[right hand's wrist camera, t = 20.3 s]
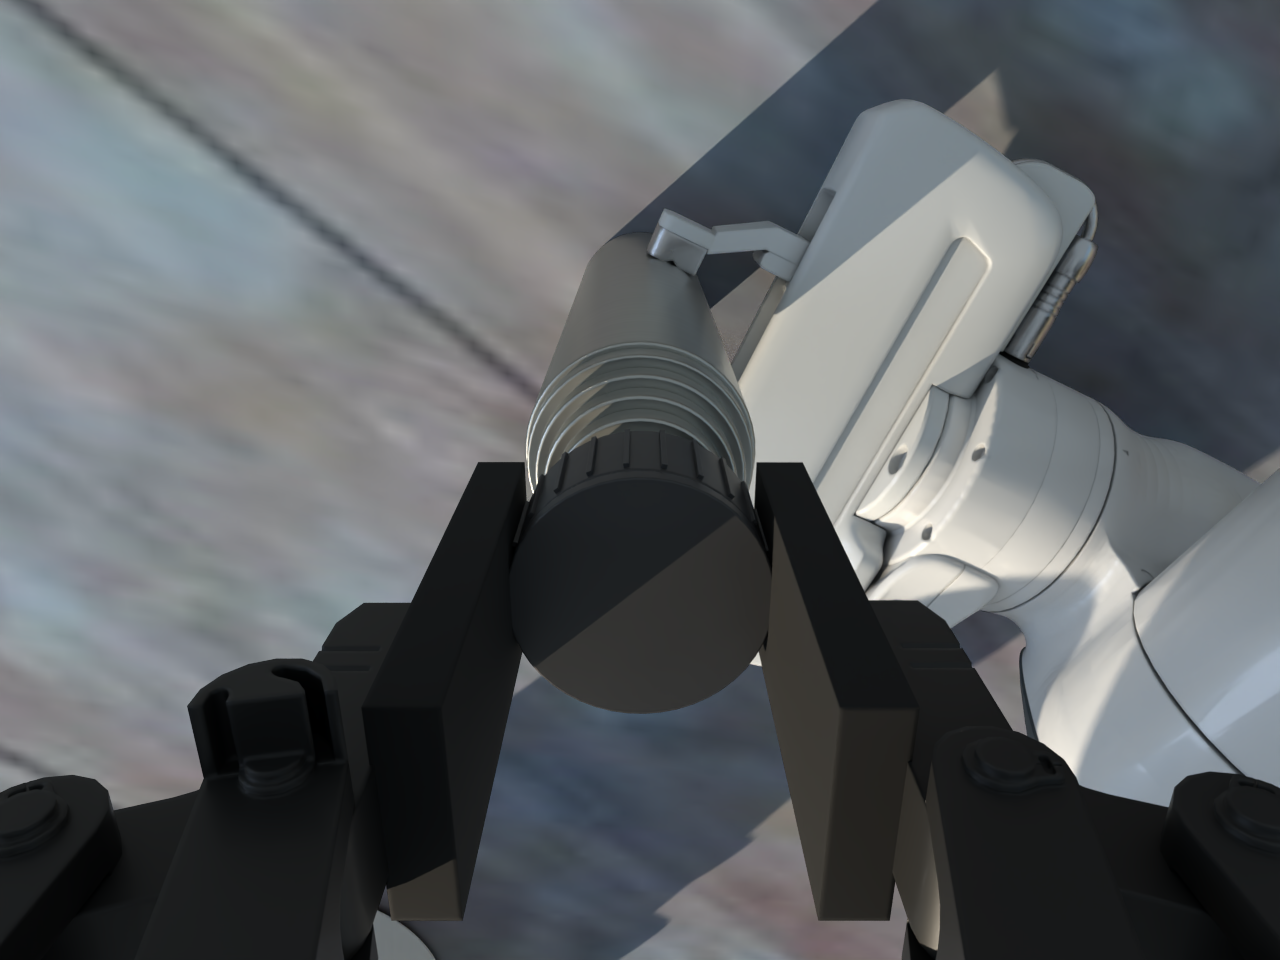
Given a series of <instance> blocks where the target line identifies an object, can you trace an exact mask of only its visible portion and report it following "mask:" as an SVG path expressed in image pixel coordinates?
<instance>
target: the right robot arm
mask: <svg viewBox="0 0 1280 960" xmlns="http://www.w3.org/2000/svg"><path fill="white" fill-rule="evenodd" d="M526 501H527V500H526V481H525V462H478V464H477V466H476V468H475V470H474V472H473V474H472V476H471V479H470V481H469V483H468V485H467V487H466V489H465V491H464V493H463V495H462V497H461V500H460V502H459V504H458V506H457V508H456V510H455V512H454V514H453V516H452V518H451V520H450V523H449V525H448V527H447V529H446V531H445V533H444V535H443V537H442V539H441V541H440V543H439V546H438V548H437V550H436V552H435V554H434V556H433V558H432V560H431V562H430V564H429V567H428V569H427V571H426V573H425V575H424V577H423V579H422V581H421V583H420V585H419V587H418V590H417V592H416V594H415V596H414V598H413V600H412V602H411V603H363V604H362V605H360V606H359V607H358V608H356V609H355V610H353V611H352V612H351V613H349V614H348V615H347V616H345V617H344V618H343V619H341V620H340V621H338V622H337V623H336V624H335V626H334V628H333V629H332V631H331V632H330V634H329V636H328V637H327V639H326V641H325V642H324V644H323V646H322V651H319V652H318V654H317V655H316V657H315V659H314V660H313V662H312V661H309V660H305V659H272V660H267V661H262V662H257V663H252V664H248V665H245V666H243V667H240V668H238V669H235V670H233V671H230V672H228V673H225V674H223V675H221V676H220V677H218V678H217V679H215V680H214V681H212V682H211V683H209V684H208V685H206V686H205V687H203V688H202V689H200V690H199V692H198V693H197V694H196V696H195V697H194V698H193V699H192V701H191V702H190V703H189V704H188V706H187V707H188V712H189V716H190V720H191V725H192V729H193V733H194V738H195V742H196V746H197V751H198V755H199V760H200V764H201V768H202V773H203V777H204V779H203V782H202V784H201V787H200V789H199V790H197V791H194V792H191V793H187V794H184V795H180V796H177V797H173V798H169V799H164V800H160V801H155V802H151V803H146V804H141V805H137V806H132V807H128V808H123V809H119V810H114V811H113V807H112V803H111V800H110V796H109V793H108V790H107V789H105V788H104V787H103V786H102V785H101V784H100V783H99V782H98V781H96V780H95V779H91V778H86V777H81V776H76V775H66V776H56V777H45V778H41V779H37V780H34V781H29V782H27V783H23V784H20V785H17V786H14V787H11V788H9V789H7V790H5V791H3V792H1V793H0V960H378V952H377V945H376V939H375V932H374V926H373V922H374V919H375V916H376V913H377V910H378V907H379V904H380V901H381V898H382V895H383V892H384V889H385V886H387V893H388V900H389V908H390V915H391V921H463V916H464V912H465V907H466V903H467V898H468V894H469V889H470V885H471V880H472V876H473V871H474V867H475V862H476V858H477V853H478V849H479V844H480V840H481V835H482V831H483V826H484V822H485V817H486V813H487V808H488V804H489V799H490V795H491V790H492V786H493V781H494V777H495V772H496V768H497V763H498V759H499V754H500V750H501V745H502V741H503V736H504V732H505V727H506V723H507V718H508V714H509V709H510V705H511V700H512V696H513V691H514V687H515V682H516V678H517V673H518V669H519V664H520V660H521V655H522V650H521V649H520V647H519V645H518V643H517V641H516V639H515V637H514V634H513V629H512V614H511V598H510V582H509V569H510V565H511V561H512V558H513V554H514V551H515V548H516V547H513V546H512V544H513V540H514V537H515V534H516V530H517V527H518V524H519V521H520V517H521V514H522V511H523V508H524V504H525V502H526ZM754 509H757V513H758V516H759V519H760V523H761V526H762V530H763V533H764V536H765V540H766V543H767V546H768V550H769V552H768V558H769V561H770V564H771V568H772V583H771V599H770V615H769V629H768V634H767V636H766V639H765V641H764V643H763V645H762V647H761V648H760V650H759V656H760V660H761V665H762V669H763V674H764V678H765V683H766V687H767V692H768V696H769V701H770V705H771V710H772V714H773V719H774V723H775V727H776V732H777V736H778V741H779V745H780V750H781V754H782V759H783V763H784V768H785V772H786V777H787V781H788V786H789V790H790V795H791V799H792V804H793V808H794V813H795V817H796V822H797V826H798V831H799V835H800V840H801V844H802V849H803V853H804V858H805V862H806V867H807V871H808V876H809V880H810V885H811V889H812V894H813V898H814V903H815V907H816V912H817V916H818V921H890V915H891V907H892V900H893V893H894V886H895V882H896V885H897V888H898V891H899V894H900V896H901V899H902V902H903V905H904V908H905V911H906V914H907V917H908V919H907V926H906V932H905V939H904V945H903V952H902V958H901V960H1280V788H1279V787H1277V786H1275V785H1273V784H1271V783H1267V782H1264V781H1262V780H1259V779H1254V778H1252V777H1247V776H1244V775H1240V774H1233V773H1222V772H1211V771H1209V772H1204V773H1199V774H1194V775H1189V776H1186V777H1185V778H1184V779H1183V780H1182V781H1181V782H1180V783H1178V784H1177V785H1176V786H1175V787H1174V790H1173V794H1172V797H1171V801H1170V804H1169V807H1165V806H1161V805H1156V804H1151V803H1147V802H1142V801H1138V800H1133V799H1129V798H1124V797H1119V796H1115V795H1110V794H1106V793H1103V792H1099V791H1096V790H1093V789H1089V788H1086V787H1083V786H1081V785H1079V783H1078V780H1077V778H1076V776H1075V775H1074V773H1073V772H1072V770H1071V769H1070V767H1069V766H1068V764H1067V763H1066V761H1065V760H1064V759H1063V758H1062V757H1060V756H1059V755H1058V754H1057V753H1055V752H1054V751H1053V750H1051V749H1050V748H1049V747H1047V746H1046V745H1045V744H1043V743H1041V742H1039V741H1037V740H1035V739H1032V738H1030V737H1028V736H1026V735H1024V734H1021V733H1019V732H1016V731H1013V730H1012V728H1011V727H1010V725H1009V723H1008V722H1007V720H1006V719H1005V717H1004V715H1003V714H1002V712H1001V710H1000V709H999V707H998V705H997V704H996V702H995V701H994V699H993V697H992V696H991V694H990V692H989V691H988V689H987V688H986V686H985V684H984V683H983V681H982V679H981V678H980V676H979V674H978V673H977V671H976V670H975V668H972V666H971V661H970V660H969V658H968V657H967V655H966V653H965V652H964V650H963V648H960V644H959V642H958V640H957V639H956V637H955V635H954V634H953V632H952V630H951V629H950V627H949V626H948V624H947V622H946V621H945V620H944V619H943V618H941V617H940V616H939V615H937V614H936V613H934V612H933V611H932V610H930V609H929V608H928V607H926V606H925V605H923V604H922V603H921V602H919V601H918V600H868V598H867V596H866V594H865V591H864V589H863V587H862V585H861V583H860V581H859V579H858V577H857V575H856V573H855V571H854V568H853V566H852V564H851V562H850V560H849V558H848V556H847V554H846V552H845V550H844V548H843V545H842V543H841V541H840V539H839V537H838V535H837V533H836V531H835V529H834V527H833V525H832V522H831V520H830V518H829V516H828V514H827V512H826V510H825V508H824V506H823V504H822V502H821V499H820V497H819V495H818V493H817V491H816V489H815V487H814V485H813V483H812V481H811V478H810V476H809V474H808V472H807V470H806V468H805V466H804V464H803V462H756V481H755V500H754Z"/></svg>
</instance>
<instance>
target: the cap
mask: <svg viewBox="0 0 1280 960" xmlns="http://www.w3.org/2000/svg"><path fill="white" fill-rule="evenodd" d="M512 546H513V547H516V548H515V551H514V554H513V558H512V561H511V565H510V569H509V582H510V598H511V614H512V629H513V634H514V637H515V639H516V641H517V643H518V645H519V647H520V649H521V650H522V652H523V653H524V655H525V656H526V658H527V659H528V661H529V662H530V663H531V664H532V666H533V667H534V668H535V669H536V670H537V671H538V672H539V673H540V674H541V675H542V676H543V677H544V678H545V679H546V680H547V681H549V682H550V683H551V684H552V685H553V686H555V687H556V688H558V689H559V690H561V691H562V692H564V693H565V694H567V695H569V696H571V697H573V698H575V699H577V700H579V701H581V702H584V703H586V704H589V705H592V706H594V707H598V708H602V709H606V710H610V711H616V712H623V713H639V714H647V713H659V712H665V711H671V710H676V709H680V708H683V707H686V706H689V705H692V704H695V703H697V702H699V701H702V700H704V699H706V698H708V697H710V696H712V695H714V694H715V693H717V692H719V691H720V690H722V689H723V688H725V687H726V686H727V685H729V684H730V683H731V682H733V681H734V680H735V679H736V678H737V677H738V676H739V675H740V674H741V673H742V672H743V671H744V670H745V669H746V668H747V667H748V666H749V664H750V663H751V662H752V660H753V659H754V658H755V657H756V655H757V653H758V652H759V650H760V648H761V647H762V645H763V643H764V641H765V639H766V636H767V634H768V629H769V615H770V599H771V583H772V568H771V564H770V561H769V558H768V552H769V550H768V546H767V543H766V540H765V536H764V533H763V530H762V526H761V523H760V519H759V516H758V513H757V509H754V507H753V504H752V501H751V497H750V494H749V491H748V487H747V484H746V482H745V481H742V482H741V481H740V480H739V478H738V477H737V476H736V474H735V473H734V472H733V471H732V470H731V469H730V468H729V467H728V466H727V463H726V460H725V459H724V458H723V457H721V458H718V457H717V456H716V455H715V454H713V453H712V452H710V451H709V450H707V449H705V448H704V447H702V446H700V445H699V444H698V441H696V440H694V439H693V440H692V441H689V440H687V439H685V438H682V437H678V436H675V435H671V434H667V433H665V430H660V431H659V432H655V431H630V429H625V432H619V433H614V434H610V435H605V436H602V437H599V438H597V437H596V436H594V437H592V438H591V441H589V442H587V443H585V444H583V445H581V446H579V447H577V448H575V449H574V450H572V451H571V452H569V453H567V452H564V453H563V454H562V456H561V459H560V460H559V461H558V462H557V463H556V464H555V465H553V466H552V467H551V468H550V470H549V471H548V472H547V473H546V474H545V475H543V474H541V475H540V477H539V479H538V483H537V486H536V489H535V491H534V493H533V495H532V497H531V499H530V502H528V501H526V502H525V504H524V508H523V511H522V514H521V517H520V521H519V524H518V527H517V530H516V534H515V537H514V540H513V544H512Z"/></svg>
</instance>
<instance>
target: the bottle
mask: <svg viewBox="0 0 1280 960" xmlns="http://www.w3.org/2000/svg"><path fill="white" fill-rule="evenodd" d="M652 235H653V234H652V233H645V232H635V233H629V234H624V235H621V236H619V237H616V238H614V239H612V240H610V241H609V242H607V243H606V244H605V245H603V246H602V247H601V248H600V249H599V250H598V251H597V252H596V253H595V255H594V256H593V257H592V259H591V260H590V262H589V264H588V266H587V268H586V270H585V273H584V276H583V278H582V281H581V284H580V286H579V289H578V292H577V294H576V297H575V300H574V302H573V305H572V307H571V310H570V313H569V315H568V318H567V321H566V323H565V326H564V329H563V331H562V334H561V337H560V339H559V342H558V345H557V347H556V350H555V353H554V355H553V358H552V361H551V363H550V366H549V369H548V371H547V374H546V377H545V379H544V382H543V385H542V387H541V390H540V392H539V395H538V398H537V400H536V403H535V406H534V408H533V411H532V414H531V417H530V421H529V424H528V428H527V434H526V441H525V457H526V465H527V471H528V477H529V482H530V486H531V490H532V493H534V491H535V489H536V486H537V483H538V479H539V477H540V475H541V474H543V475H545V474H546V473H547V472H548V471H549V470H550V468H551V467H552V466H553V465H555V464H556V463H557V462H558V461H559V460H560V459H561V456H562V454H563V453H564V452H567V453H569V452H571V451H572V450H574V449H575V448H577V447H579V446H581V445H583V444H585V443H587V442H589V441H591V438H592V437H594V436H596V437H597V438H599V437H602V436H605V435H610V434H614V433H619V432H625V429H630V431H655V432H659V431H660V430H665V433H667V434H671V435H675V436H678V437H682V438H685V439H687V440H689V441H692V440H693V439H694V440H696V441H698V444H699V445H700V446H702V447H704V448H705V449H707V450H709V451H710V452H712V453H713V454H715V455H716V456H717V457H718V458H721V457H723V458H724V459H725V460H726V463H727V466H728V467H729V468H730V469H731V470H732V471H733V472H734V473H735V474H736V476H737V477H738V478H739V480H740V481H741V482H742V481H745V482H746V484H747V487H748V491H749V489H750V485H751V482H752V477H753V470H754V464H755V455H756V449H755V435H754V429H753V424H752V421H751V418H750V415H749V411H748V409H747V406H746V403H745V401H744V398H743V396H742V393H741V390H740V388H739V385H738V382H737V380H736V377H735V374H734V372H733V369H732V366H731V364H730V361H729V358H728V356H727V353H726V350H725V348H724V345H723V343H722V340H721V337H720V335H719V332H718V329H717V327H716V324H715V321H714V319H713V316H712V313H711V311H710V308H709V305H708V303H707V300H706V297H705V295H704V292H703V290H702V287H701V284H700V282H699V279H698V276H697V274H696V275H695V276H694V275H692V274H689V273H687V272H685V271H683V270H681V269H680V268H678V267H677V266H676V265H675V263H674V261H673V260H672V261H667V262H666V261H663V260H660V259H658V258H656V257H654V256H652V255H650V254H649V253H648V252H647V246H648V244H649V242H650V239H651V237H652Z"/></svg>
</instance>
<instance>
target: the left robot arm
mask: <svg viewBox="0 0 1280 960" xmlns="http://www.w3.org/2000/svg"><path fill="white" fill-rule="evenodd" d="M1084 221H1085V222H1084ZM1083 223H1084V228H1083V231H1082V234H1081V237H1080V236H1078V235H1076V234H1077V232H1078V231H1079V229H1080V227H1081V226H1082V224H1083ZM1097 225H1098V208H1097V203H1096V200H1095V196H1094V194H1093V193H1092V191H1091V190H1090V189H1089V187H1088V186H1087V185H1086V184H1085V183H1084V182H1083V181H1082V180H1080V179H1079V178H1077V177H1075V176H1073V175H1071V174H1069V173H1067V172H1066V171H1064V170H1062V169H1060V168H1058V167H1056V166H1054V165H1052V164H1051V163H1049V162H1047V161H1044V160H1041V159H1035V158H1021V159H1017V160H1012V161H1010V160H1009V159H1008V158H1006V157H1005V156H1004V155H1003V154H1001V153H1000V152H999V151H997V150H996V149H995V148H993V147H992V146H991V145H989V144H988V143H987V142H985V141H984V140H982V139H981V138H980V137H978V136H977V135H976V134H974V133H973V132H971V131H970V130H968V129H967V128H965V127H964V126H962V125H961V124H959V123H957V122H956V121H954V120H953V119H951V118H949V117H948V116H946V115H944V114H943V113H941V112H940V111H938V110H936V109H934V108H932V107H930V106H929V105H927V104H925V103H922V102H919V101H916V100H910V99H899V100H894V101H890V102H886V103H883V104H880V105H878V106H875V107H872V108H870V109H867V110H865V111H863V112H862V113H861V114H860V115H859V116H858V117H857V119H856V121H855V122H854V124H853V126H852V128H851V130H850V132H849V134H848V136H847V138H846V140H845V142H844V144H843V146H842V148H841V150H840V152H839V154H838V155H837V157H836V159H835V161H834V163H833V165H832V167H831V169H830V171H829V173H828V175H827V177H826V179H825V181H824V183H823V185H822V187H821V189H820V191H819V193H818V195H817V197H816V198H815V200H814V202H813V204H812V206H811V208H810V210H809V212H808V214H807V216H806V218H805V220H804V222H803V224H802V226H801V228H800V230H799V232H798V234H795V233H793V232H791V231H789V230H787V229H785V228H783V227H781V226H779V225H777V224H774V223H772V222H770V221H760V222H750V223H740V224H730V225H720V226H713V227H712V229H709V228H707V227H705V226H703V225H701V224H699V223H697V222H694V221H692V220H690V219H688V218H686V217H684V216H682V215H680V214H678V213H676V212H673V211H671V210H668V209H665V208H664V210H663V212H662V214H661V217H660V219H659V221H658V223H657V225H656V228H655V230H654V232H653V235H652V237H651V239H650V242H649V244H648V246H647V252H648V253H649V254H650V255H652V256H654V257H656V258H658V259H660V260H663V261H666V262H667V261H672V260H673V261H674V263H675V265H676V266H677V267H678V268H680V269H681V270H683V271H685V272H687V273H689V274H692V275H694V276H695V275H696V273H697V271H698V269H699V267H700V265H701V263H702V261H703V259H704V257H705V255H706V253H707V254H719V253H731V252H744V251H754V253H753V258H754V260H755V261H756V262H757V263H758V265H759V266H760V267H761V268H762V269H764V270H766V271H768V272H770V273H772V274H774V275H776V277H775V279H774V281H773V283H772V285H771V286H770V288H769V290H768V292H767V294H766V296H765V298H764V300H763V302H762V304H761V306H760V308H759V310H758V312H757V314H756V316H755V318H754V320H753V322H752V324H751V326H750V328H749V329H748V331H747V333H746V335H745V337H744V339H743V341H742V343H741V345H740V347H739V349H738V351H737V353H736V355H735V357H734V359H733V361H732V363H731V366H732V369H733V372H734V374H735V377H736V380H737V382H738V385H739V388H740V390H741V393H742V396H743V398H744V401H745V403H746V406H747V409H748V411H749V415H750V418H751V421H752V424H753V429H754V435H755V449H756V455H755V464H754V470H753V477H752V482H751V485H750V489H749V494H750V497H751V501H752V504H753V507H754V500H755V481H756V462H803V464H804V466H805V468H806V470H807V472H808V474H809V476H810V478H811V481H812V483H813V485H814V487H815V489H816V491H817V493H818V495H819V497H820V499H821V502H822V504H823V506H824V508H825V510H826V512H827V514H828V516H829V518H830V520H831V522H832V525H833V527H834V529H835V531H836V533H837V535H838V537H839V539H840V541H841V543H842V545H843V548H844V550H845V552H846V554H847V556H848V558H849V560H850V562H851V564H852V566H853V568H854V571H855V573H856V575H857V577H858V579H859V581H860V583H861V585H862V587H863V589H864V591H865V594H866V596H867V598H868V600H918V601H919V602H921V603H922V604H923V605H925V606H926V607H928V608H929V609H930V610H932V611H933V612H934V613H936V614H937V615H939V616H940V617H941V618H943V619H944V620H945V621H946V622H947V624H948V626H949V627H950V629H951V628H952V627H954V626H955V625H957V624H958V623H960V622H961V621H963V620H964V619H966V618H968V617H969V616H971V615H972V614H974V613H976V612H977V611H979V610H981V611H984V612H990V613H994V614H998V615H1001V616H1004V617H1007V618H1009V619H1010V620H1012V621H1013V622H1014V623H1015V624H1016V625H1017V626H1018V627H1019V628H1020V630H1021V631H1022V633H1023V634H1024V636H1025V640H1026V647H1024V648H1023V649H1022V651H1021V653H1020V659H1019V668H1020V685H1021V694H1022V701H1023V709H1024V717H1025V724H1026V730H1027V736H1028V737H1030V738H1032V739H1035V740H1037V741H1039V742H1041V743H1043V744H1045V745H1046V746H1047V747H1049V748H1050V749H1051V750H1053V751H1054V752H1055V753H1057V754H1058V755H1059V756H1060V757H1062V758H1063V759H1064V760H1065V761H1066V763H1067V764H1068V766H1069V767H1070V769H1071V770H1072V772H1073V773H1074V775H1075V776H1076V778H1077V780H1078V783H1079V785H1081V786H1083V787H1086V788H1089V789H1093V790H1096V791H1099V792H1103V793H1106V794H1110V795H1115V796H1119V797H1124V798H1129V799H1133V800H1138V801H1142V802H1147V803H1151V804H1156V805H1161V806H1165V807H1169V804H1170V801H1171V797H1172V794H1173V790H1174V787H1175V786H1176V785H1177V784H1178V783H1180V782H1181V781H1182V780H1183V779H1184V778H1185V777H1186V776H1189V775H1194V774H1199V773H1204V772H1209V771H1211V772H1222V773H1233V774H1240V775H1244V776H1247V777H1252V778H1254V779H1259V780H1262V781H1264V782H1267V783H1271V784H1273V785H1275V786H1277V787H1279V788H1280V468H1279V469H1278V470H1277V471H1276V472H1275V473H1273V474H1272V475H1271V476H1270V477H1269V478H1268V479H1267V480H1265V481H1264V482H1263V483H1262V484H1261V483H1259V482H1257V481H1256V480H1254V479H1252V478H1250V477H1249V476H1247V475H1245V474H1244V473H1242V472H1240V471H1238V470H1236V469H1234V468H1233V467H1231V466H1229V465H1227V464H1225V463H1223V462H1221V461H1219V460H1217V459H1215V458H1213V457H1211V456H1209V455H1207V454H1205V453H1203V452H1201V451H1199V450H1197V449H1195V448H1193V447H1191V446H1188V445H1186V444H1184V443H1180V442H1177V441H1173V440H1169V439H1162V438H1154V437H1148V436H1144V435H1141V434H1139V433H1137V432H1135V431H1133V430H1132V429H1130V428H1129V427H1127V426H1126V425H1125V424H1124V423H1123V421H1122V420H1121V419H1120V418H1119V417H1118V416H1116V415H1115V414H1114V413H1113V412H1112V411H1111V410H1110V409H1109V408H1108V407H1106V406H1104V405H1103V404H1101V403H1100V402H1098V401H1096V400H1094V399H1092V398H1090V397H1088V396H1086V395H1084V394H1082V393H1080V392H1078V391H1076V390H1074V389H1072V388H1070V387H1068V386H1066V385H1064V384H1061V383H1059V382H1057V381H1055V380H1053V379H1051V378H1049V377H1047V376H1045V375H1043V374H1041V373H1039V372H1037V371H1035V370H1033V369H1031V368H1029V366H1028V364H1029V362H1030V360H1031V359H1032V357H1033V356H1034V354H1035V353H1036V351H1037V350H1038V348H1039V346H1040V345H1041V343H1042V342H1043V340H1044V338H1045V337H1046V335H1047V334H1048V332H1049V331H1050V329H1051V327H1052V325H1053V324H1054V322H1055V320H1056V316H1058V314H1059V312H1060V310H1059V309H1061V308H1062V306H1063V304H1064V303H1063V301H1065V300H1066V298H1067V297H1068V294H1070V292H1071V291H1072V289H1073V287H1074V286H1075V284H1076V283H1079V282H1080V281H1081V280H1082V278H1083V277H1084V276H1085V274H1086V273H1087V271H1088V270H1089V268H1090V266H1091V264H1092V262H1093V260H1094V258H1095V256H1096V253H1097V250H1098V245H1097V244H1095V243H1093V242H1092V241H1093V238H1094V236H1095V233H1096V229H1097ZM1000 351H1002V352H1000ZM750 664H753V665H758V666H762V665H761V660H760V656H759V652H758V653H757V655H756V657H755V658H754V659H753V660H752V662H751V663H750ZM373 926H374V932H375V939H376V945H377V952H378V960H436V959H435V958H434V956H433V954H432V953H431V952H430V950H429V949H428V948H427V946H426V945H425V944H424V943H423V942H422V941H421V940H420V939H419V938H418V937H417V936H416V935H415V934H414V933H413V932H411V931H410V930H409V929H408V928H407V927H405V926H404V925H402V924H401V923H399V922H398V921H391V917H390V916H388V915H386V914H384V913H382V912H380V911H378V910H377V913H376V916H375V919H374V922H373Z"/></svg>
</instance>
